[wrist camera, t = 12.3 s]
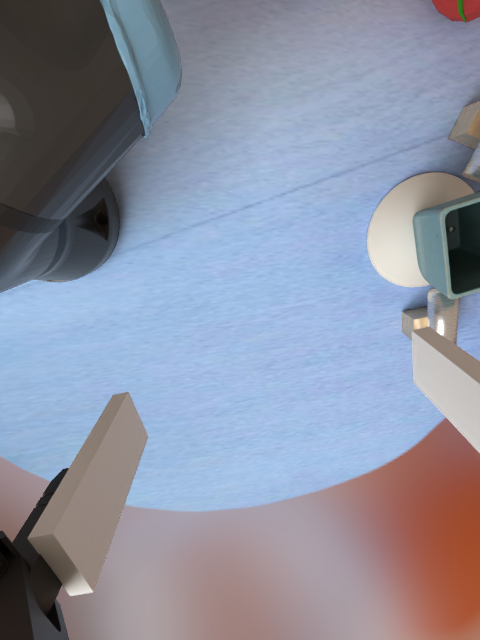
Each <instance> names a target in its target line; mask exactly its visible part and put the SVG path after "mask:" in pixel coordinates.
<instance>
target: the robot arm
mask: <svg viewBox="0 0 480 640" xmlns="http://www.w3.org/2000/svg"><path fill="white" fill-rule="evenodd" d="M181 77H182V69H181V58H180V54H179V50H178V46H177V43H176V40H175V37H174V34H173V31H172V29H171V26H170V23H169V21H168V18H167V16H166V13H165V11H164V9H163V6H162V4H161V2H160V0H0V293H1V292H4V291H6V290H8V289H11V288H13V287H16V286H18V285H21V284H23V283H26V282H28V281H30V280H41V281H47V282H66V281H71V280H75V279H78V278H81V277H83V276H85V275H87V274H89V273H91V272H93V271H95V270H96V269H98V268H99V267H100V266H102V265H103V264H104V263H105V262H106V260H107V259H108V258H109V257H110V255H111V253H112V252H113V250H114V247H115V245H116V242H117V238H118V233H119V213H118V208H117V204H116V200H115V197H114V195H113V192H112V190H111V188H110V186H109V184H108V183H107V181H106V179H105V178H104V177H105V176H106V175H107V174H108V173H109V172H110V171H111V170H112V168H113V167H114V166H115V165H116V164H117V163H118V162H119V161H120V160H121V159H122V158H123V157H124V155H125V154H126V153H127V152H128V151H129V150H130V149H131V148H132V147H133V146H134V145H135V144H136V142H137V141H138V140H139V139H140V138H141V137H142V138H143V139H145V138H146V137H147V136H148V135H149V134H150V131H151V126H152V125H153V124H154V123H155V122H156V120H157V119H158V118H159V117H160V116H161V114H162V113H163V112H164V111H165V110H166V108H167V107H168V106H169V105H170V104H171V102H172V101H173V100H174V99H175V97H176V96H177V94H178V92H179V89H180V86H181ZM412 354H413V382H414V384H415V385H416V386H417V387H418V388H419V389H420V390H421V391H422V392H423V393H424V394H425V395H426V396H427V397H428V398H429V400H430V401H431V402H432V403H433V404H434V405H435V406H436V407H437V408H438V409H439V410H440V411H441V412H442V413H443V414H444V416H445V417H446V418H447V419H448V420H449V421H450V422H451V423H452V424H453V425H454V426H455V427H456V428H457V429H458V430H459V432H460V433H461V434H462V435H463V436H464V437H465V438H466V439H467V440H468V441H469V442H470V443H471V444H472V445H473V447H475V449H476V450H477V451H478V452H479V453H480V361H478V360H477V359H475V358H474V357H472V356H471V355H470V354H468V353H467V352H465V351H464V350H462V349H461V348H459V347H458V346H457V345H455V344H454V343H452V342H451V341H449V340H448V339H446V338H445V337H444V336H442V335H441V334H439V333H438V332H436V331H435V330H433V329H432V328H431V327H425V328H421V329H416V330H412ZM147 439H148V435H147V433H146V430H145V428H144V426H143V424H142V421H141V419H140V417H139V415H138V412H137V410H136V408H135V406H134V403H133V401H132V399H131V397H130V394H129V392H125V393H121V394H116V395H113V396H112V398H111V399H110V401H109V403H108V404H107V406H106V408H105V409H104V411H103V413H102V414H101V416H100V418H99V419H98V421H97V423H96V424H95V426H94V428H93V429H92V431H91V433H90V434H89V436H88V438H87V439H86V441H85V443H84V444H83V446H82V448H81V449H80V451H79V453H78V454H77V456H76V458H75V459H74V461H73V463H72V464H71V466H70V468H66V469H63V470H62V471H61V472H60V473H59V474H58V475H57V476H56V477H55V478H54V479H53V480H52V481H51V482H50V484H49V486H48V487H47V489H46V490H45V492H44V493H43V497H41V498H40V500H39V501H38V503H37V505H36V508H34V509H33V511H32V512H31V514H30V516H29V517H28V519H27V520H26V522H25V524H24V525H23V527H22V528H21V530H20V531H19V533H18V535H17V536H16V538H15V539H14V541H13V542H11V541H10V540H9V538H8V537H7V536H6V534H5V533H4V532H3V531H0V640H69V637H68V634H67V630H66V626H65V622H64V618H63V614H62V610H61V606H60V604H59V603H58V601H57V600H56V597H57V595H58V593H59V590H60V588H61V586H63V587H64V588H65V590H66V591H67V592H68V594H69V595H70V596H74V595H80V594H86V593H91V592H94V589H95V587H96V584H97V581H98V578H99V575H100V573H101V570H102V567H103V564H104V561H105V558H106V555H107V553H108V550H109V547H110V544H111V541H112V538H113V536H114V533H115V530H116V527H117V524H118V521H119V519H120V516H121V513H122V510H123V507H124V504H125V502H126V499H127V496H128V493H129V490H130V487H131V484H132V482H133V479H134V476H135V473H136V470H137V467H138V465H139V462H140V459H141V456H142V453H143V450H144V448H145V445H146V442H147Z"/></svg>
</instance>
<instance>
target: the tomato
mask: <svg viewBox="0 0 480 640" xmlns="http://www.w3.org/2000/svg"><path fill="white" fill-rule="evenodd" d="M432 2H433V3H434V5H435V7H436V9H437V10H438V12H440V13H441V14H443V15H444V16H446V17H447V18H449V19H450V20H452V21H464V22H469V21H471V20H473V19H475V18H477V17H479V16H480V0H432Z"/></svg>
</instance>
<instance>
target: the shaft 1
mask: <svg viewBox="0 0 480 640" xmlns="http://www.w3.org/2000/svg"><path fill="white" fill-rule="evenodd" d="M458 312H459V298H456V299H449V298H448V297H447V296H445V295H444V294H443V293H441V292H440V291H438V290H437V289H436V288H434V289H431V290H429V291H428V305H427V307H423V308H418V309H412V310H406V311H402V333H404V334H405V335H406V336H407V337H408V338H410V339H411V340H412V330H416V329H421V328H425V327H431V328H432V329H433V330H435V331H436V332H438V333H439V334H441V335H442V336H444V337H445V338H446V339H448V340H449V341H451V342H452V343H454V344H455V345H457V330H458Z"/></svg>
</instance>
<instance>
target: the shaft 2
mask: <svg viewBox="0 0 480 640" xmlns="http://www.w3.org/2000/svg"><path fill="white" fill-rule="evenodd" d="M448 139H450V140H453V141H455V142H457V143H460V144H462V145H464V146H467V147H469V148H472V149H474V150H475V151H474V153H473V155H472V156H471V158H470V160H469V162H468V164H467V166H466V168H465V169H464V171H463V173H462V176H464V177H465V178H467V179H470V180H473V181H476V182H480V101H478V102H475V103H473V104H471V105H468V106H466V107H463V109H462V111H461V113H460V115H459V117H458V119H457V121H456V123H455V125H454V127H453V129H452V131H451V133H450V135H449V137H448Z"/></svg>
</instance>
